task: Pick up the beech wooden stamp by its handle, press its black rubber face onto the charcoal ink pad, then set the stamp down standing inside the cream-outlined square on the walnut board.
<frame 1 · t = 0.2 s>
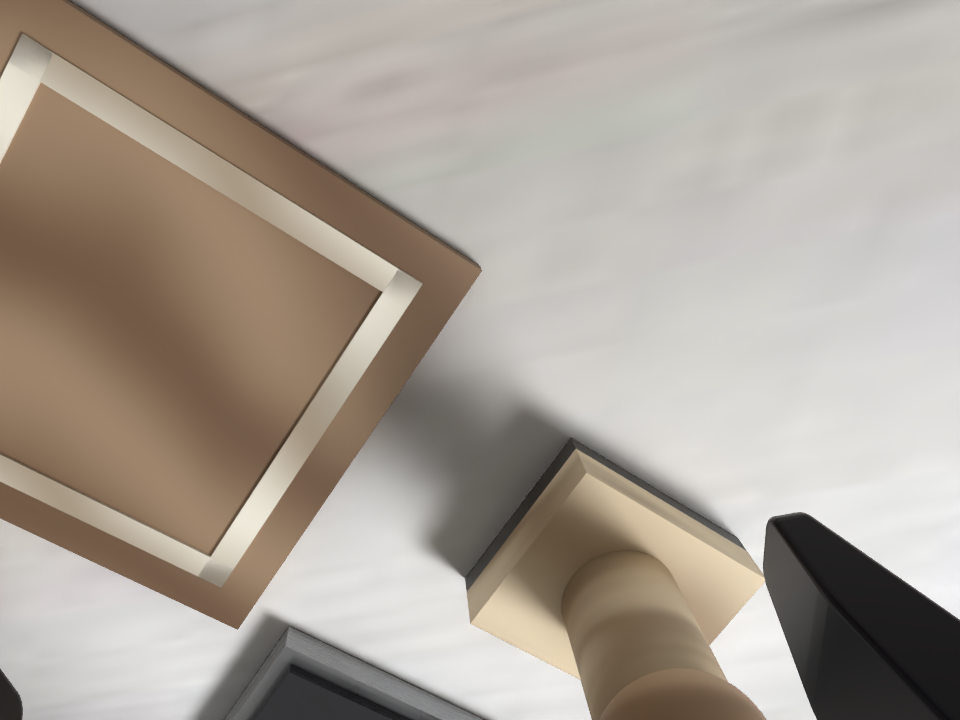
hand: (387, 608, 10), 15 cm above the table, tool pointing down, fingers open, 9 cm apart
marked board: (141, 336, 24), on the table
wooden stamp: (602, 557, 28), on the table
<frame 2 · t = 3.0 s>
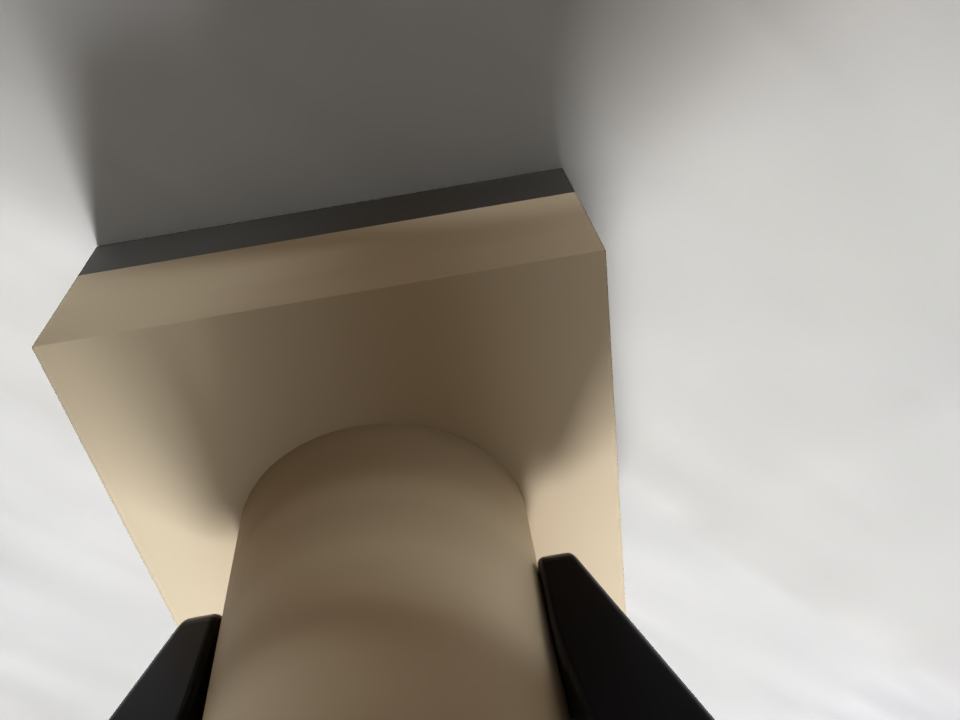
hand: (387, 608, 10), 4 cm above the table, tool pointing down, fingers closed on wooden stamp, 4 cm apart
wooden stamp: (384, 421, 13), on the table, touching gripper
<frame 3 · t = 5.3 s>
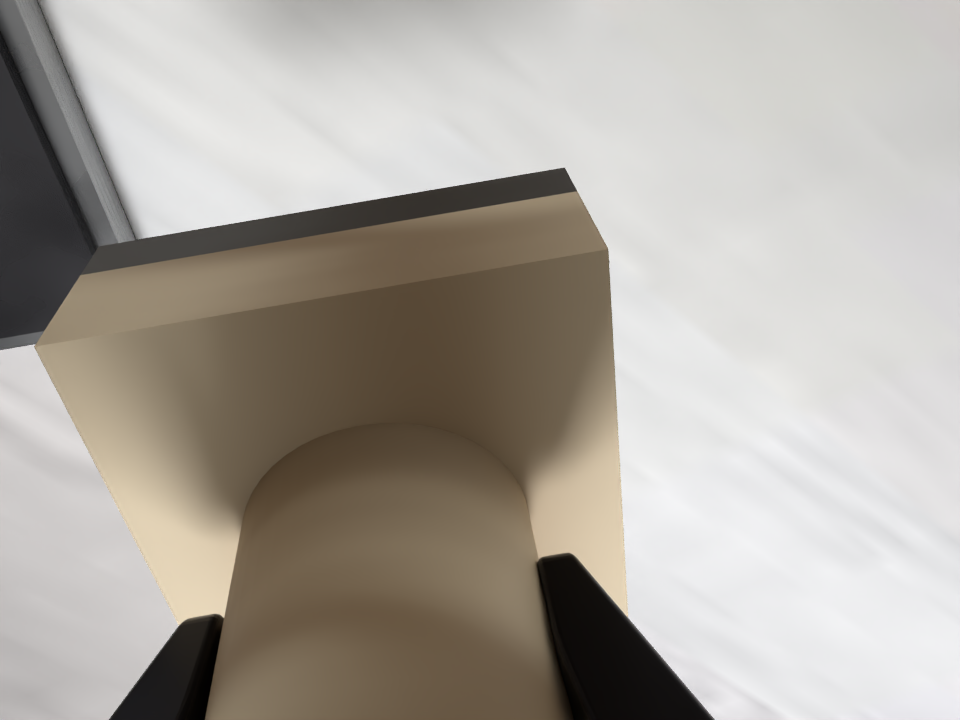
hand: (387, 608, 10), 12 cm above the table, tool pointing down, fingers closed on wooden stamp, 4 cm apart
wooden stamp: (386, 421, 13), point 9 cm above the table, touching gripper
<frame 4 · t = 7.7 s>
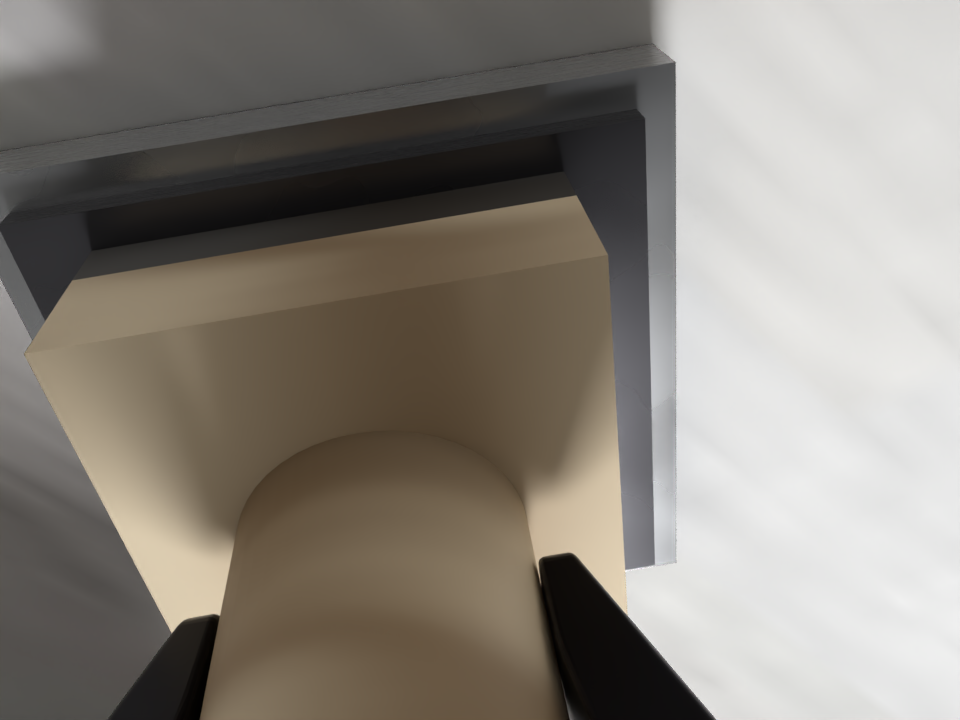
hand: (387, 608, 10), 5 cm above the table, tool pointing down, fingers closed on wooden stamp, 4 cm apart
ink pad: (385, 374, 14), on the table
wooden stamp: (383, 427, 12), point 1 cm above the table, touching gripper, ink pad
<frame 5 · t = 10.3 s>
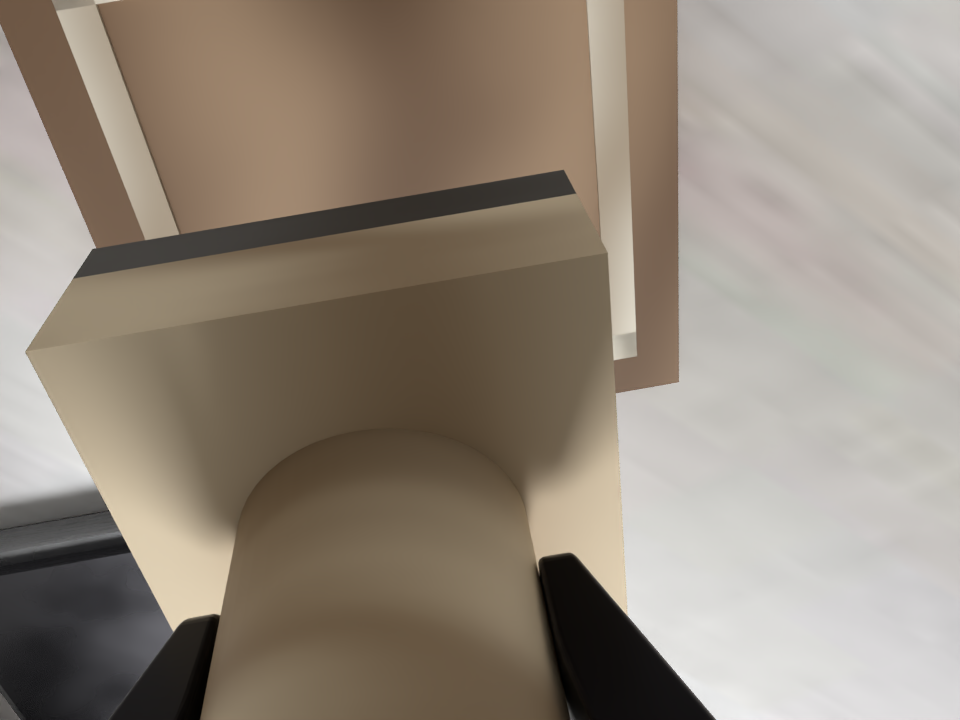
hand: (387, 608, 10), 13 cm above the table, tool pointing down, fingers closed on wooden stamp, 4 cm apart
ink pad: (132, 616, 27), on the table
marked board: (387, 183, 20), on the table
wooden stamp: (384, 425, 12), point 9 cm above the table, touching gripper
when the fingers open (5 cm above the table, at t = 12.4 s): wooden stamp drops 1 cm, resting on marked board.
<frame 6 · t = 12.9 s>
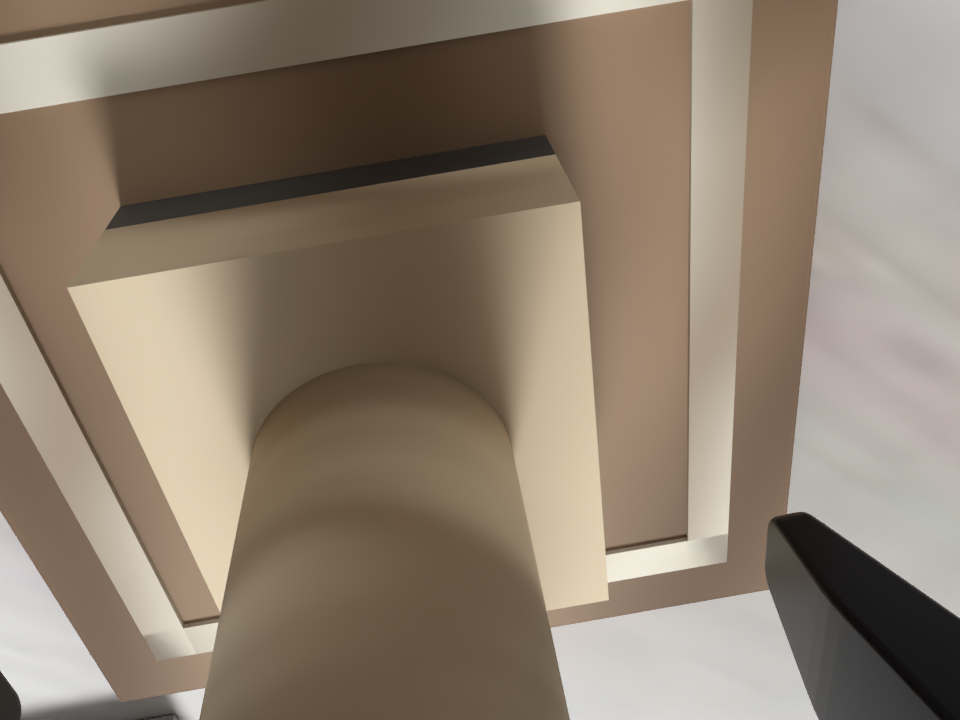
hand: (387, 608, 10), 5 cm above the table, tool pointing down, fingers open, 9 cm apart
marked board: (386, 354, 14), on the table
wooden stamp: (383, 373, 14), point 1 cm above the table, touching marked board
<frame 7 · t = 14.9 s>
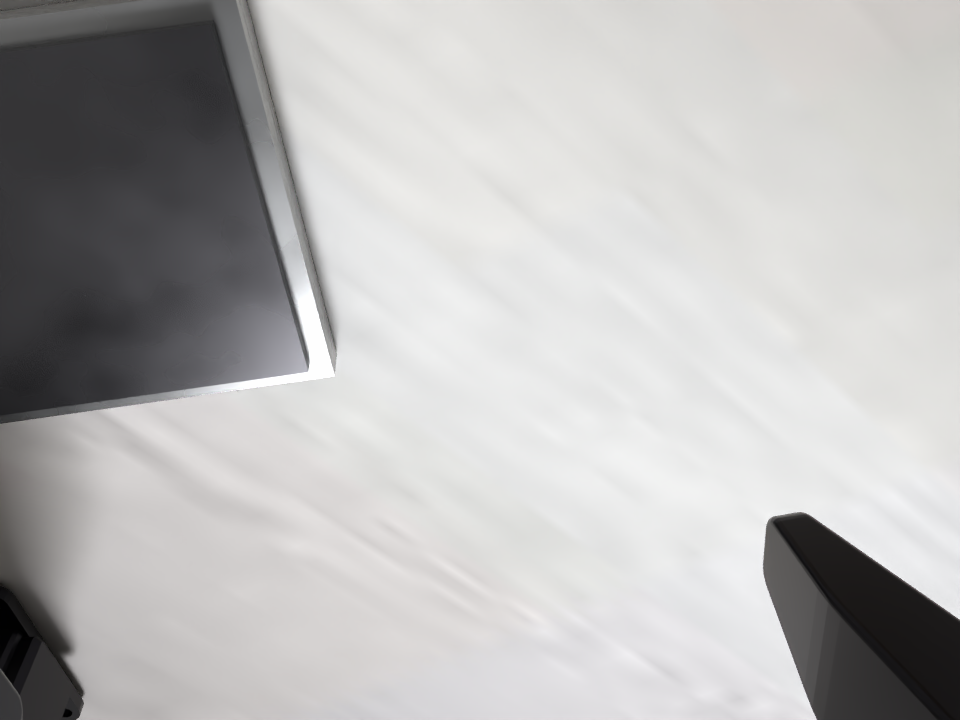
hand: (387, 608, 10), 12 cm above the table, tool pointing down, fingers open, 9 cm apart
ink pad: (98, 218, 19), on the table
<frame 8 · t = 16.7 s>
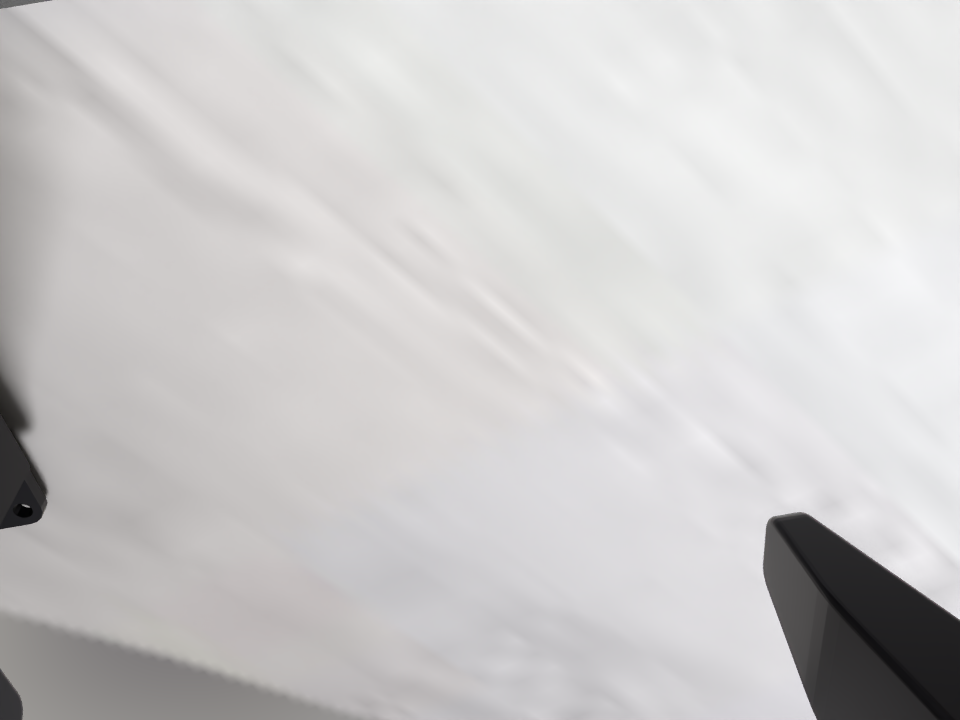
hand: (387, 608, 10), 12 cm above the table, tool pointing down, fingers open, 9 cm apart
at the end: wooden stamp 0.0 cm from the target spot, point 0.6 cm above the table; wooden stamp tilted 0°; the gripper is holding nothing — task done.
